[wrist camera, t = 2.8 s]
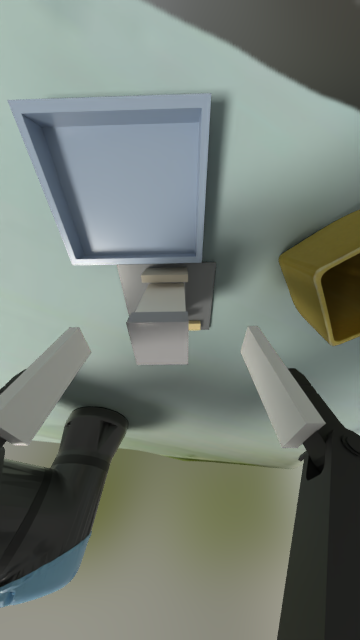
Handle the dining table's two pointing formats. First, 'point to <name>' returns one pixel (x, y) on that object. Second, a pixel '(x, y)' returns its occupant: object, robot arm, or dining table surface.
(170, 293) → the block
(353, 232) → the flower pot
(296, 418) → the robot arm
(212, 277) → the block
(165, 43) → the dining table surface
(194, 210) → the tray
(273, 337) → the dining table surface
